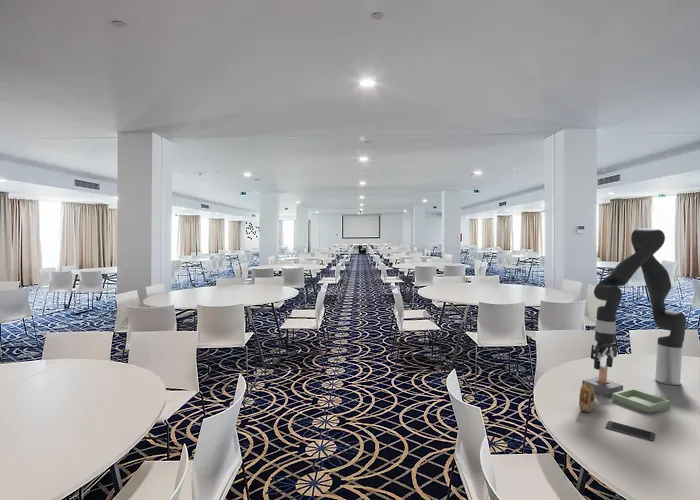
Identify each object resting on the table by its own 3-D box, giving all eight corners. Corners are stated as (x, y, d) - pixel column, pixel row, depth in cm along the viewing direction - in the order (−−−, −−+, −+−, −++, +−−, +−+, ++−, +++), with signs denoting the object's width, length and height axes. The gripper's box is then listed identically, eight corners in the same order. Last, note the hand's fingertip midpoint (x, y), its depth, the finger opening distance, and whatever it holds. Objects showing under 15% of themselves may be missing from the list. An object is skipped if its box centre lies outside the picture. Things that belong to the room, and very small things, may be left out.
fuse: (600, 388, 183) (602, 364, 183) (608, 391, 180) (609, 366, 180) (596, 389, 182) (597, 365, 181) (603, 392, 179) (604, 367, 178)
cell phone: (608, 422, 151) (608, 420, 151) (655, 435, 142) (655, 432, 142) (604, 429, 145) (604, 427, 145) (654, 443, 137) (654, 440, 137)
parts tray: (632, 395, 176) (632, 388, 176) (669, 408, 164) (670, 400, 164) (611, 400, 170) (612, 393, 170) (649, 414, 158) (649, 406, 158)
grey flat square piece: (597, 384, 188) (598, 376, 188) (622, 393, 178) (623, 385, 178) (581, 388, 183) (582, 380, 183) (606, 397, 174) (607, 389, 173)
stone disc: (587, 416, 155) (589, 389, 154) (576, 412, 158) (578, 386, 157) (596, 408, 162) (597, 383, 162) (585, 405, 165) (587, 380, 164)
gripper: (606, 327, 186) (604, 363, 187) (586, 330, 180) (584, 367, 180) (624, 331, 179) (621, 368, 180) (603, 334, 173) (601, 372, 174)
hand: (603, 367), depth 180 cm, fingers open, 8 cm apart
